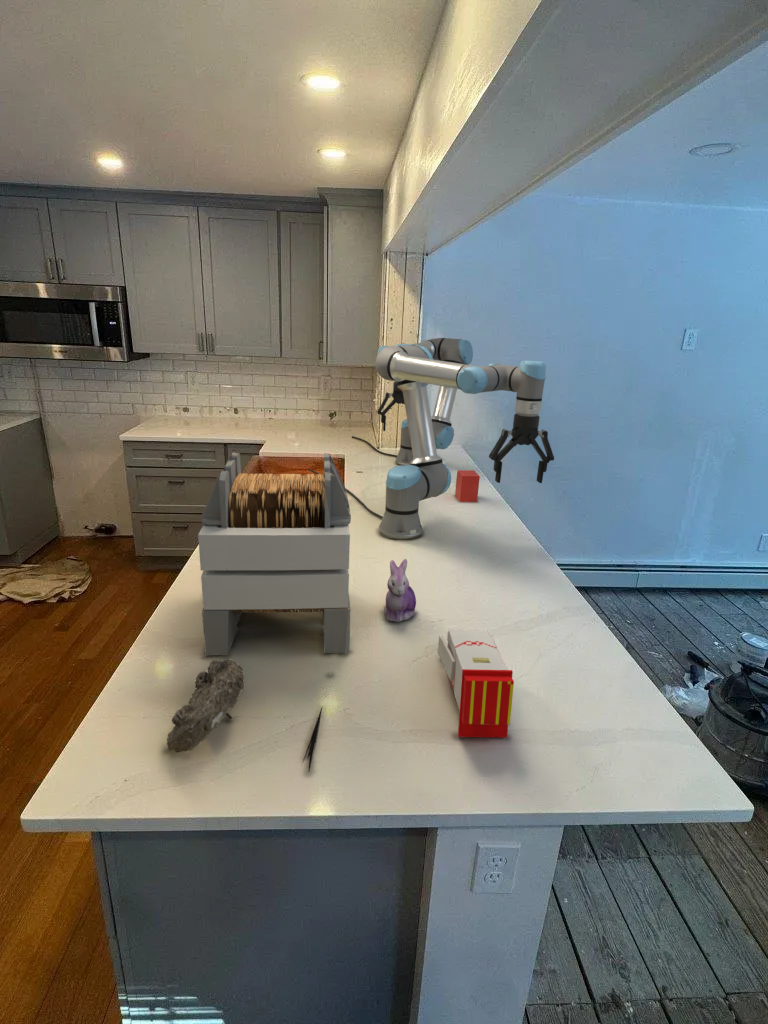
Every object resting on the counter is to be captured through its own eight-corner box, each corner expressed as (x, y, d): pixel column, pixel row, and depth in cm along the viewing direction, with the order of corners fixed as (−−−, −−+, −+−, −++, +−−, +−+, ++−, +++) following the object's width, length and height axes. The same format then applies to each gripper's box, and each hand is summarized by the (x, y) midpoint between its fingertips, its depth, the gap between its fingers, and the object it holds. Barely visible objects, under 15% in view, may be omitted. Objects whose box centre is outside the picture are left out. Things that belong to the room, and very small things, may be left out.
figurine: (392, 627, 141) (395, 572, 136) (374, 608, 149) (376, 556, 144) (425, 619, 145) (429, 566, 140) (405, 601, 154) (408, 550, 149)
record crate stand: (226, 586, 157) (217, 442, 143) (344, 585, 161) (346, 445, 147) (202, 658, 125) (189, 482, 112) (350, 654, 129) (354, 483, 115)
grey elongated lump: (192, 660, 117) (244, 628, 112) (224, 691, 120) (276, 661, 115) (142, 746, 98) (202, 712, 93) (182, 779, 101) (242, 748, 96)
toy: (488, 613, 130) (523, 677, 101) (484, 667, 133) (517, 744, 104) (435, 612, 130) (455, 676, 101) (432, 666, 133) (451, 743, 103)
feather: (331, 679, 122) (336, 673, 122) (307, 777, 96) (313, 769, 95) (324, 675, 122) (329, 669, 121) (298, 772, 95) (304, 764, 95)
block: (459, 502, 236) (462, 476, 232) (454, 495, 244) (457, 470, 240) (477, 502, 237) (479, 476, 233) (471, 495, 245) (474, 470, 241)
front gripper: (490, 415, 165) (483, 485, 172) (571, 417, 169) (561, 485, 176) (483, 411, 172) (476, 478, 179) (561, 412, 176) (551, 478, 183)
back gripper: (373, 381, 237) (371, 431, 244) (432, 383, 239) (428, 433, 246) (372, 379, 244) (370, 428, 251) (429, 381, 246) (426, 430, 253)
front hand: (518, 481), depth 178 cm, fingers open, 13 cm apart
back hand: (399, 431), depth 249 cm, fingers open, 13 cm apart
